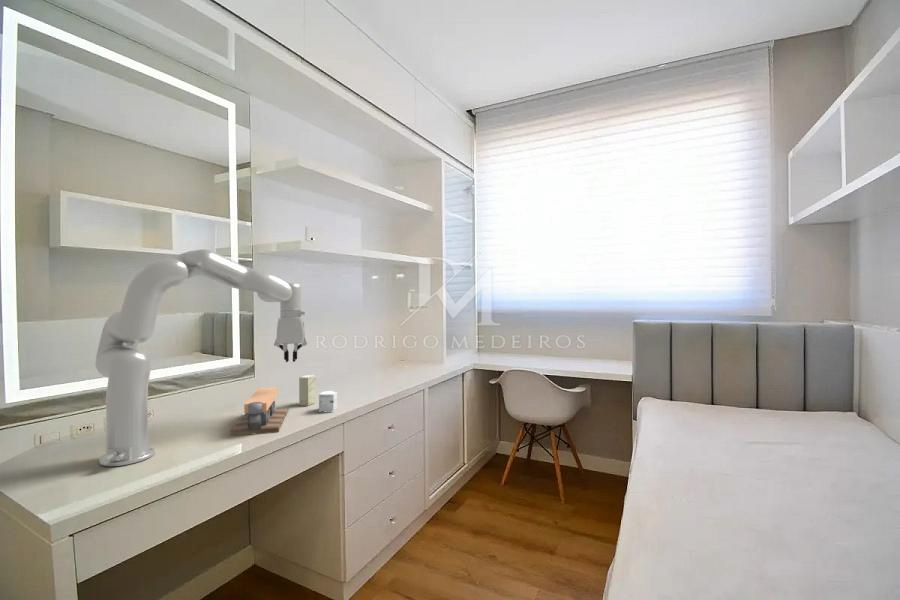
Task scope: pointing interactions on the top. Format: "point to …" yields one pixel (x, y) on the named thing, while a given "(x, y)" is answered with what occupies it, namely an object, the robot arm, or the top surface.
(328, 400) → the skincare box
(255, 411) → the swing arm
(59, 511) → the top surface
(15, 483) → the top surface
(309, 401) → the skincare box
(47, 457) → the top surface
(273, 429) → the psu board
